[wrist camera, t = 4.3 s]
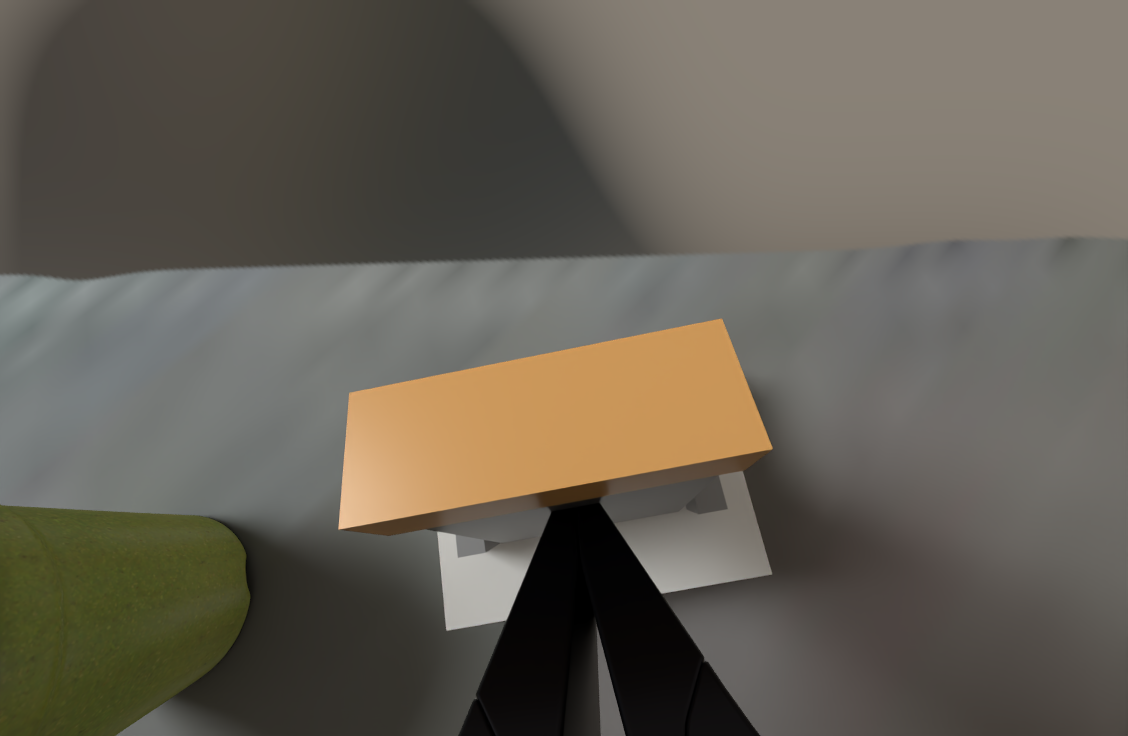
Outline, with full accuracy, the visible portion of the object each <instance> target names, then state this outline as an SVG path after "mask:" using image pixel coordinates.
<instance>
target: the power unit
mask: <svg viewBox="0 0 1128 736" xmlns="http://www.w3.org/2000/svg"><path fill="white" fill-rule="evenodd" d="M614 524H615V526H616V527H617V529H618V530H619V532H620V533H621V535H622V536H623V538H624V539H625V541H626V542H627V543H628V545H629V546H630V548H631V549H632V551H633V552H634V554H635V555H636V557H637V558H638V560H639V561H640V563H641V564H642V566H643V567H644V569H645V570H646V572H647V573H648V575H649V576H650V577H651V579H652V580H653V582H654V583H655V585H656V586H657V588H658V589H659V591H660V592H661V594H662V593H668V592H674V591H679V590H685V589H691V588H697V587H703V586H708V585H714V584H720V583H726V582H731V581H737V580H743V579H749V578H755V577H760V576H766V575H772V572H771V568H770V565H769V561H768V558H767V554H766V551H765V547H764V544H763V540H762V537H761V533H760V530H759V526H758V523H757V519H756V516H755V512H754V509H753V505H752V502H751V498H750V495H749V491H748V488H747V484H746V481H745V477H744V474H743V471H739V472H734V473H728V474H723V475H718V476H717V477H716V478H715V479H714V480H713V481H712V482H711V483H710V484H708V485H707V486H706V487H705V488H704V489H703V490H702V491H701V492H700V493H699V494H697V495H696V496H695V497H694V498H693V499H692V500H691V501H690V502H689V503H688V504H686V505H685V506H684V507H683V508H682V509H681V510H680V511H679V512H673V513H668V514H662V515H656V516H651V517H645V518H640V519H634V520H629V521H623V522H618V523H614ZM437 532H438V531H437ZM540 538H541V536H540V537H535V538H529V539H524V540H518V541H513V542H507V543H498V542H493V541H487V540H482V539H476V538H471V537H465V536H460V535H454V534H449V533H443V532H438V543H439V554H440V566H441V577H442V588H443V599H444V610H445V621H446V631H448V630H454V629H460V628H465V627H471V626H477V625H483V624H489V623H494V622H500V621H506V620H507V618H508V615H509V613H510V610H511V608H512V606H513V603H514V601H515V598H516V596H517V593H518V591H519V589H520V586H521V584H522V581H523V579H524V576H525V574H526V572H527V569H528V567H529V564H530V562H531V559H532V557H533V555H534V552H535V550H536V547H537V545H538V543H539V540H540Z"/></svg>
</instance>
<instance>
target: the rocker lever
mask: <svg viewBox="0 0 1128 736" xmlns="http://www.w3.org/2000/svg"><path fill="white" fill-rule="evenodd" d="M772 449H773V448H772V445H771V443H770V440H769V438H768V435H767V433H766V430H765V428H764V425H763V422H762V420H761V417H760V415H759V412H758V410H757V407H756V404H755V402H754V399H753V397H752V394H751V392H750V389H749V387H748V384H747V381H746V379H745V376H744V374H743V371H742V369H741V366H740V364H739V361H738V358H737V356H736V353H735V351H734V348H733V346H732V343H731V341H730V338H729V335H728V333H727V330H726V328H725V325H724V323H723V320H722V319H717V320H712V321H707V322H702V323H697V324H692V325H687V326H682V327H677V328H672V329H667V330H662V331H657V332H652V333H647V334H642V335H637V336H632V337H627V338H622V339H617V340H612V341H607V342H602V343H597V344H592V345H587V346H582V347H577V348H572V349H567V350H562V351H557V352H552V353H547V354H542V355H537V356H532V357H527V358H522V359H517V360H512V361H507V362H502V363H497V364H492V365H487V366H482V367H477V368H472V369H467V370H462V371H457V372H452V373H447V374H442V375H437V376H432V377H427V378H422V379H417V380H412V381H407V382H401V383H396V384H391V385H386V386H381V387H376V388H371V389H366V390H361V391H356V392H351V393H349V404H348V417H347V429H346V442H345V454H344V467H343V479H342V492H341V504H340V516H339V529H338V530H345V531H353V532H362V533H370V534H378V535H386V536H391V535H396V534H402V533H407V532H413V531H418V530H423V529H427V530H432V531H438V532H443V533H449V534H454V535H460V536H465V537H471V538H476V539H482V540H487V541H493V542H498V543H507V542H513V541H518V540H524V539H529V538H535V537H540V536H541V535H542V533H543V530H544V528H545V526H546V523H547V521H548V518H549V516H550V513H551V512H552V511H557V510H563V509H568V508H576V507H579V506H585V505H590V504H596V503H600V504H601V505H602V506H603V508H604V509H605V511H606V512H607V514H608V515H609V517H610V518H611V520H612V521H613V523H618V522H623V521H629V520H634V519H640V518H645V517H651V516H656V515H662V514H668V513H673V512H679V511H680V510H681V509H682V508H683V507H684V506H685V505H686V504H688V503H689V502H690V501H691V500H692V499H693V498H694V497H695V496H696V495H697V494H699V493H700V492H701V491H702V490H703V489H704V488H705V487H706V486H707V485H708V484H710V483H711V482H712V481H713V480H714V479H715V478H716V477H717V476H718V475H723V474H728V473H734V472H739V471H744V470H746V469H747V468H749V467H750V466H751V465H753V464H754V463H755V462H757V461H758V460H759V459H760V458H762V457H763V456H764V455H766V454H767V453H768V452H770V451H771V450H772Z"/></svg>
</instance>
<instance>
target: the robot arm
mask: <svg viewBox="0 0 1128 736" xmlns="http://www.w3.org/2000/svg"><path fill="white" fill-rule="evenodd" d="M596 623H597V627H598V631H599V635H600V639H601V643H602V646H603V650H604V654H605V658H606V662H607V666H608V669H609V673H610V677H611V681H612V685H613V689H614V693H615V696H616V700H617V704H618V708H619V712H620V716H621V719H622V723H623V727H624V731H625V735H626V736H760V735H759V733H758V732H757V731H756V730H755V728H754V727H753V726H752V724H751V723H750V721H749V720H748V719H747V717H746V716H745V714H744V713H743V712H742V710H741V709H740V707H739V706H738V705H737V703H736V702H735V700H734V699H733V698H732V696H731V695H730V693H729V692H728V691H727V689H726V688H725V686H724V685H723V684H722V682H721V681H720V679H719V678H718V676H717V675H716V673H715V672H714V670H713V669H712V667H711V666H710V664H709V663H708V662H706V661H705V662H704V656H703V654H702V653H701V651H700V650H699V649H698V647H697V646H696V644H695V643H694V641H693V640H692V638H691V637H690V635H689V634H688V632H687V631H686V629H685V628H684V626H683V625H682V623H681V622H680V620H679V619H678V617H677V616H676V614H675V613H674V612H673V610H672V609H671V607H670V606H669V604H668V603H667V601H666V600H665V598H664V597H663V595H662V594H661V592H660V591H659V589H658V588H657V586H656V585H655V583H654V582H653V580H652V579H651V577H650V576H649V575H648V573H647V572H646V570H645V569H644V567H643V566H642V564H641V563H640V561H639V560H638V558H637V557H636V555H635V554H634V552H633V551H632V549H631V548H630V546H629V545H628V543H627V542H626V541H625V539H624V538H623V536H622V535H621V533H620V532H619V530H618V529H617V527H616V526H615V524H614V523H613V521H612V520H611V518H610V517H609V515H608V514H607V512H606V511H605V509H604V508H603V506H602V505H601V504H600V503H596V504H590V505H585V506H579V507H576V508H568V509H563V510H557V511H552V512H551V513H550V516H549V518H548V521H547V523H546V526H545V528H544V530H543V533H542V535H541V538H540V540H539V543H538V545H537V547H536V550H535V552H534V555H533V557H532V559H531V562H530V564H529V567H528V569H527V572H526V574H525V576H524V579H523V581H522V584H521V586H520V589H519V591H518V593H517V596H516V598H515V601H514V603H513V606H512V608H511V610H510V613H509V615H508V618H507V620H506V622H505V625H504V627H503V630H502V632H501V635H500V637H499V639H498V642H497V644H496V647H495V649H494V652H493V654H492V656H491V659H490V661H489V664H488V666H487V668H486V671H485V673H484V676H483V678H482V681H481V683H480V685H479V688H478V690H477V693H476V696H477V699H478V700H477V699H474V700H473V702H472V704H471V707H470V709H469V712H468V714H467V716H466V719H465V721H464V724H463V726H462V729H461V731H460V733H459V735H458V736H601V733H600V707H599V680H598V653H597V630H596Z"/></svg>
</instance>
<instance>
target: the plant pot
mask: <svg viewBox="0 0 1128 736" xmlns="http://www.w3.org/2000/svg"><path fill="white" fill-rule="evenodd" d="M245 565H246V552H245V550H244V548H243V546H242V544H241V542H240V541H239V539H238V538H237V536H236V535H235V534H234V533H233V532H232V531H231V530H230V529H228V528H227V527H226V526H224V525H223V524H221V523H219V522H217V521H215V520H213V519H210V518H206V517H202V516H196V515H173V514H151V513H130V512H111V511H92V510H74V509H56V508H38V507H20V506H2V505H0V736H115V735H117V734H118V733H120V732H121V731H123V730H124V729H126V728H127V727H129V726H130V725H131V724H133V723H134V722H136V721H137V720H139V719H140V718H142V717H143V716H145V715H146V714H148V713H149V712H151V711H152V710H154V709H155V708H157V707H158V706H160V705H161V704H163V703H164V702H166V701H167V700H169V699H170V698H172V697H173V696H175V695H176V694H178V693H179V692H181V691H182V690H183V689H185V688H186V687H188V686H189V685H191V684H192V683H194V682H195V681H196V680H198V679H199V678H201V677H202V676H203V675H205V674H206V673H207V672H209V671H210V670H211V669H212V668H213V667H214V666H215V665H216V664H217V663H218V662H219V661H220V660H221V659H222V658H223V657H224V656H225V654H226V653H227V652H228V650H229V649H230V648H231V646H232V645H233V643H234V642H235V640H236V638H237V636H238V634H239V632H240V630H241V628H242V626H243V623H244V621H245V618H246V615H247V611H248V608H249V603H250V592H249V589H248V586H247V582H246V571H245Z"/></svg>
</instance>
